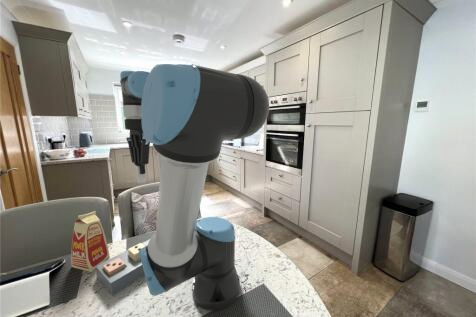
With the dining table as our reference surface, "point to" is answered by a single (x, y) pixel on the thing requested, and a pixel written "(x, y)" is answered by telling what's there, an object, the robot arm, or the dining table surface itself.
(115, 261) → the tile three
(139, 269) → the button board
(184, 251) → the robot arm
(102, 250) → the milk carton
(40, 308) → the dining table surface
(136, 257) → the tile two
